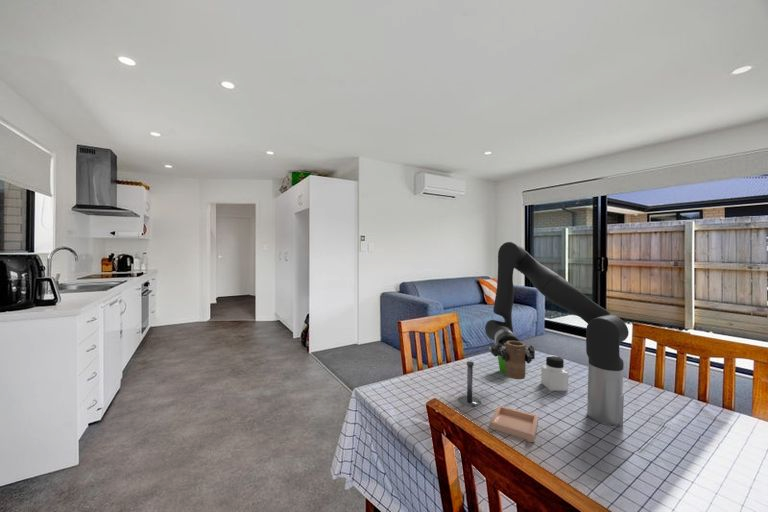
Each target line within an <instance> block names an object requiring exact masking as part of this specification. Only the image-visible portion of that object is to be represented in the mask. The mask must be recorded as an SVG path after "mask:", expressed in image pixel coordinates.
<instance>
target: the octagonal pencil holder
mask: <svg viewBox="0 0 768 512" xmlns="http://www.w3.org/2000/svg"><path fill="white" fill-rule="evenodd" d="M526 348H527V344H526V343H525V342H523V341H521V340H519V341H507V342H506V353H507V361H506V363H505V374H504V375H505V376H506V377H508V378H510V379H514V380H524V379H525V377H526V368H527V367H526V366H527V365H526V363H527V362H526Z"/></svg>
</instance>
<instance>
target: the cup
mask: <svg viewBox="0 0 768 512" xmlns="http://www.w3.org/2000/svg"><path fill="white" fill-rule="evenodd" d="M497 361H498V369H499V372H500V373H501V374H503V375H505V363H506V361H504V360H503V359H502V358H501V357H500V356H499V355H498V356H497Z"/></svg>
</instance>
